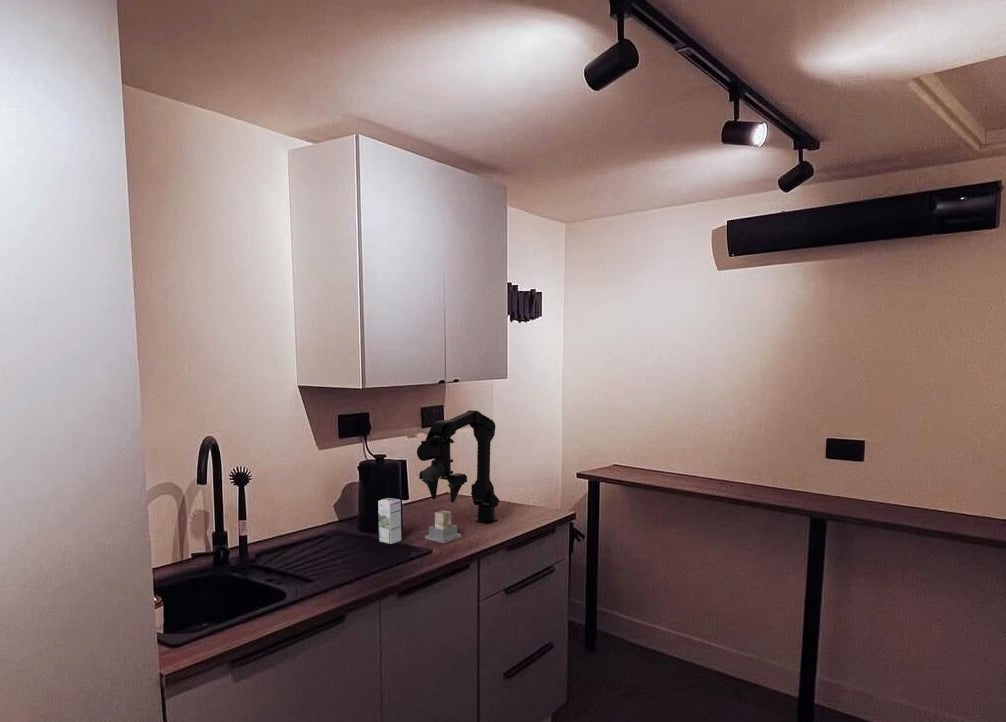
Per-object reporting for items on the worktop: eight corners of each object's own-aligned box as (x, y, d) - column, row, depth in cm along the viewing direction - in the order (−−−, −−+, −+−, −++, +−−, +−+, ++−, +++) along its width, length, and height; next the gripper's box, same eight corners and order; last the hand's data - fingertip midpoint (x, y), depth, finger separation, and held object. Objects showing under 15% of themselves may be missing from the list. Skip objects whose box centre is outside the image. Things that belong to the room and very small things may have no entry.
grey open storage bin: (443, 532, 221) (442, 521, 221) (461, 536, 216) (460, 525, 216) (425, 538, 214) (424, 527, 214) (443, 542, 209) (443, 531, 209)
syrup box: (402, 540, 212) (401, 499, 212) (389, 544, 208) (389, 502, 208) (390, 538, 216) (389, 497, 216) (378, 542, 211) (377, 500, 211)
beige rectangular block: (443, 532, 218) (442, 510, 218) (451, 534, 215) (450, 511, 215) (435, 535, 215) (434, 512, 215) (443, 537, 212) (442, 514, 212)
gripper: (407, 457, 215) (408, 501, 215) (445, 462, 203) (446, 509, 203) (430, 453, 224) (430, 496, 224) (467, 458, 212) (468, 502, 212)
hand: (443, 501), depth 215 cm, fingers open, 9 cm apart
